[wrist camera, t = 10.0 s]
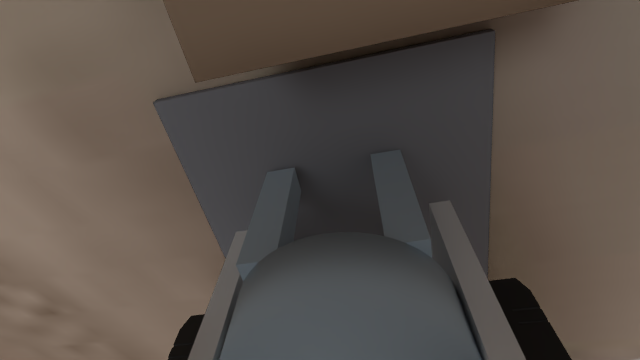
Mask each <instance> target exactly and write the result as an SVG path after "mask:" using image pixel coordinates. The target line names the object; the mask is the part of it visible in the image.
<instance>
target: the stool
mask: <svg viewBox="0 0 640 360" xmlns="http://www.w3.org/2000/svg"><path fill="white" fill-rule="evenodd" d="M370 155H371V161H372V168H373V174H374V180H375V186H376V191H377V197H378V203H379V209H380V214H381V220H382V226H383V232H384V236H381V235H376V234H369V233H360V232H336V233H325V234H319V235H314V236H309V237H306V238H302V239H299V240H296V241H293V240H294V234H295V227H296V221H297V215H298V209H299V202H300V196H301V188H300V185H299V181H298V178H297V174H296V171H295V167H294V168H288V169H282V170H276V171H271V172H267V174H266V177H265V180H264V183H263V186H262V189H261V192H260V195H259V198H258V201H257V204H256V207H255V210H254V213H253V216H252V219H251V222H250V225H249V228H248V230H247V233H246V236H245V239H244V242H243V245H242V248H241V251H240V254H239V257H238V260H237V263H236V267H237V269H238V271H239V273H240V275H241V278H242V280H243V284H242V287H241V289H240V292H239V295H238V299H237V302H236V305H235V309H234V312H233V315H232V319H231V322H230V325H229V329H228V332H227V335H226V339H225V342H224V345H223V349H222V352H221V355H220V359H219V360H482V358H481V356H480V353H479V350H478V347H477V345H476V342H475V339H474V337H473V334H472V331H471V328H470V326H469V323H468V320H467V318H466V315H465V312H464V309H463V307H462V304H461V301H460V299H459V296H458V293H457V290H456V288H455V285H454V283H453V281H452V280H451V278H450V276H449V275H448V274H447V272H446V271H445V270H444V269H443V268H442V266H441V265H440V264H438V263H437V262H436V261H435V260H434V259H433V258H432V248H431V238H430V235H429V232H428V229H427V226H426V223H425V221H424V218H423V215H422V212H421V209H420V206H419V203H418V200H417V197H416V194H415V191H414V188H413V186H412V183H411V180H410V177H409V174H408V171H407V168H406V165H405V162H404V159H403V156H402V153H401V151H400V149H399V150H393V151H388V152H382V153H376V154H370Z"/></svg>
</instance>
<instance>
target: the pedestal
mask: <svg viewBox="0 0 640 360" xmlns="http://www.w3.org/2000/svg"><path fill="white" fill-rule="evenodd" d="M573 1H577V0H163V2H164V4H165V7H166V9H167V12H168V14H169V17H170V20H171V22H172V25H173V27H174V30H175V32H176V35H177V37H178V40H179V42H180V45H181V48H182V50H183V53H184V55H185V58H186V60H187V63H188V65H189V68H190V70H191V73H192V76H193V78H194V81H195V83H196V82H201V81H206V80H210V79H215V78H220V77H224V76H229V75H234V74H238V73H243V72H248V71H252V70H257V69H262V68H266V67H271V66H275V65H280V64H285V63H289V62H294V61H299V60H303V59H308V58H313V57H317V56H322V55H327V54H331V53H336V52H341V51H345V50H350V49H354V48H359V47H364V46H368V45H373V44H378V43H382V42H387V41H392V40H396V39H401V38H406V37H410V36H415V35H420V34H424V33H429V32H433V31H438V30H443V29H447V28H452V27H457V26H461V25H466V24H471V23H475V22H480V21H485V20H489V19H494V18H499V17H503V16H508V15H512V14H517V13H522V12H526V11H531V10H536V9H540V8H545V7H550V6H554V5H559V4H564V3H568V2H573Z"/></svg>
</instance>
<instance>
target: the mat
mask: <svg viewBox="0 0 640 360" xmlns="http://www.w3.org/2000/svg"><path fill="white" fill-rule="evenodd" d="M494 55H495V30H492V29H488V30H484V31H479V32H474V33H469V34H465V35H460V36H455V37H451V38H446V39H441V40H436V41H432V42H427V43H422V44H417V45H413V46H408V47H403V48H399V49H394V50H389V51H384V52H380V53H375V54H370V55H365V56H361V57H356V58H351V59H347V60H342V61H337V62H332V63H328V64H323V65H318V66H313V67H309V68H304V69H299V70H295V71H290V72H285V73H280V74H276V75H271V76H266V77H261V78H257V79H252V80H247V81H242V82H238V83H233V84H228V85H224V86H219V87H214V88H209V89H205V90H200V91H195V92H190V93H186V94H181V95H176V96H172V97H167V98H162V99H157V100H156V101H155V102H153V104H154V106H155V108H156V110H157V113H158V115H159V117H160V119H161V121H162V123H163V125H164V128H165V130H166V132H167V134H168V136H169V138H170V140H171V143H172V145H173V147H174V149H175V151H176V153H177V155H178V158H179V160H180V162H181V164H182V166H183V168H184V170H185V173H186V175H187V177H188V179H189V181H190V183H191V185H192V188H193V190H194V192H195V194H196V196H197V198H198V200H199V203H200V205H201V207H202V209H203V211H204V213H205V215H206V218H207V220H208V222H209V224H210V226H211V228H212V231H213V233H214V235H215V237H216V239H217V241H218V243H219V246H220V248H221V250H222V252H223V254H224V256H225V258H226V257H227V255H228V252H229V249H230V247H231V244H232V241H233V239H234V236H235V233H236V232H239V231H246V230H248V228H249V225H250V222H251V219H252V216H253V213H254V210H255V207H256V204H257V201H258V198H259V195H260V192H261V189H262V186H263V183H264V180H265V177H266V174H267V172H271V171H276V170H282V169H288V168H294V167H295V171H296V174H297V178H298V181H299V185H300V188H301V196H300V202H299V209H298V215H297V221H296V227H295V234H294V240H293V241H296V240H299V239H302V238H306V237H309V236H314V235H319V234H325V233H336V232H360V233H369V234H376V235H381V236H384V232H383V226H382V220H381V214H380V209H379V203H378V197H377V191H376V186H375V180H374V174H373V168H372V161H371V155H370V154H376V153H382V152H388V151H393V150H399V149H400V151H401V153H402V156H403V159H404V162H405V165H406V168H407V171H408V174H409V177H410V180H411V183H412V186H413V188H414V191H415V194H416V197H417V200H418V203H419V206H420V209H421V212H422V215H423V218H424V221H425V223H426V226H427V229H428V232H429V235H430V238H431V248H432V237H431V224H430V210H429V203H435V202H442V201H449V200H450V202H451V204H452V206H453V208H454V210H455V212H456V214H457V216H458V219H459V221H460V223H461V225H462V227H463V229H464V231H465V233H466V235H467V237H468V239H469V242H470V244H471V246H472V248H473V250H474V252H475V254H476V256H477V258H478V260H479V262H480V264H481V267H482V269H483V271H484V273H485V275H486V277H487V279H488V247H489V215H490V183H491V151H492V119H493V87H494ZM432 258H433V251H432Z"/></svg>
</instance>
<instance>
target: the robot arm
mask: <svg viewBox="0 0 640 360" xmlns="http://www.w3.org/2000/svg"><path fill="white" fill-rule="evenodd" d="M429 210H430V224H431V237H432V251H433V259H434V260H435V261H436V262H437V263H438V264H440V265H441V266H442V268H443V269H444V270H445V271H446V272H447V274H448V275H449V276H450V278H451V280H452V281H453V283H454V285H455V288H456V290H457V293H458V296H459V299H460V301H461V304H462V307H463V309H464V312H465V315H466V318H467V320H468V323H469V326H470V328H471V331H472V334H473V337H474V339H475V342H476V345H477V347H478V350H479V353H480V356H481V358H482V360H571V358H570V356H569V355H568V353H567V351H566V350H565V348H564V346H563V344H562V343H561V341H560V339H559V338H558V336H557V334H556V333H555V331H554V329H553V328H552V326H551V324H550V323H549V322H548V320H547V318H546V316H545V314H544V313H543V311H542V309H540V306H539V304H538V302H537V301H536V299H535V297H534V296H533V294H532V292H531V291H530V290H529V289H528V288H527V287H526V286H524V285H523V284H522V283H521V282H520V281H518V280H517V279H516V278H510V279H501V280H493V281H488V279H487V277H486V275H485V273H484V271H483V269H482V267H481V264H480V262H479V260H478V258H477V256H476V254H475V252H474V250H473V248H472V246H471V244H470V242H469V239H468V237H467V235H466V233H465V231H464V229H463V227H462V225H461V223H460V221H459V219H458V216H457V214H456V212H455V210H454V208H453V206H452V204H451V202H450V200H449V201H442V202H435V203H429ZM246 233H247V230H246V231H239V232H236V233H235V236H234V239H233V241H232V244H231V247H230V249H229V252H228V255H227V257H226V260H225V262H224V265H223V268H222V270H221V273H220V276H219V278H218V281H217V284H216V286H215V289H214V291H213V294H212V297H211V299H210V302H209V305H208V307H207V310H206V313H205V314H203V315H195V316H191V317H190V318H189V319H188V320H187V322H186V323H185V324H184V325H183V327H182V328H181V329H180V331H179V333H178V335H177V338H176V340H175V342H174V347H173V348H172V349H171V352H170V354H169V356H168V358H169V359H168V360H219V359H220V355H221V352H222V349H223V345H224V342H225V339H226V335H227V332H228V329H229V325H230V322H231V319H232V315H233V312H234V309H235V305H236V302H237V299H238V295H239V292H240V289H241V287H242V284H243V280H242V278H241V275H240V273H239V271H238V269H237V267H236V263H237V260H238V257H239V254H240V251H241V248H242V245H243V242H244V239H245V236H246Z"/></svg>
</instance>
